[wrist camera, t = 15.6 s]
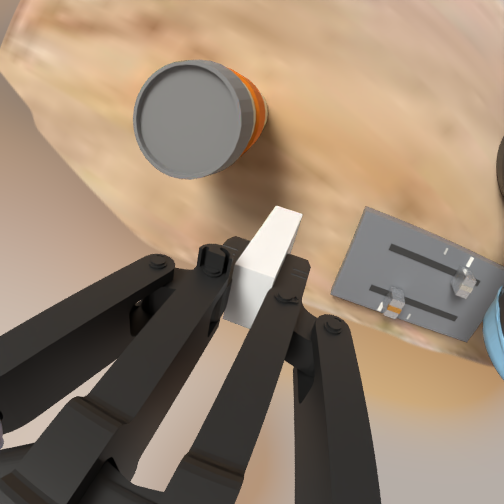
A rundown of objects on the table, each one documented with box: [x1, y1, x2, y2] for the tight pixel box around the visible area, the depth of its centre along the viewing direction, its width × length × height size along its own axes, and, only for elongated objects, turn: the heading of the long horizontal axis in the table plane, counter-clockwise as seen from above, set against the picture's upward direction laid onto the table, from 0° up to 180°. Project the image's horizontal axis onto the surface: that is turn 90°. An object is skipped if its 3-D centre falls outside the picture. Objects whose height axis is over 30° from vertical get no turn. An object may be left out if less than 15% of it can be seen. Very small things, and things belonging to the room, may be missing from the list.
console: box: [331, 206, 504, 342], centre depth 42 cm, size 26×14×2 cm, turn 76°
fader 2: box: [451, 266, 477, 299], centre depth 37 cm, size 2×3×3 cm, turn 166°
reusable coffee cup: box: [133, 60, 268, 179], centre depth 34 cm, size 13×13×15 cm
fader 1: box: [383, 286, 405, 319], centre depth 42 cm, size 2×3×3 cm, turn 166°
